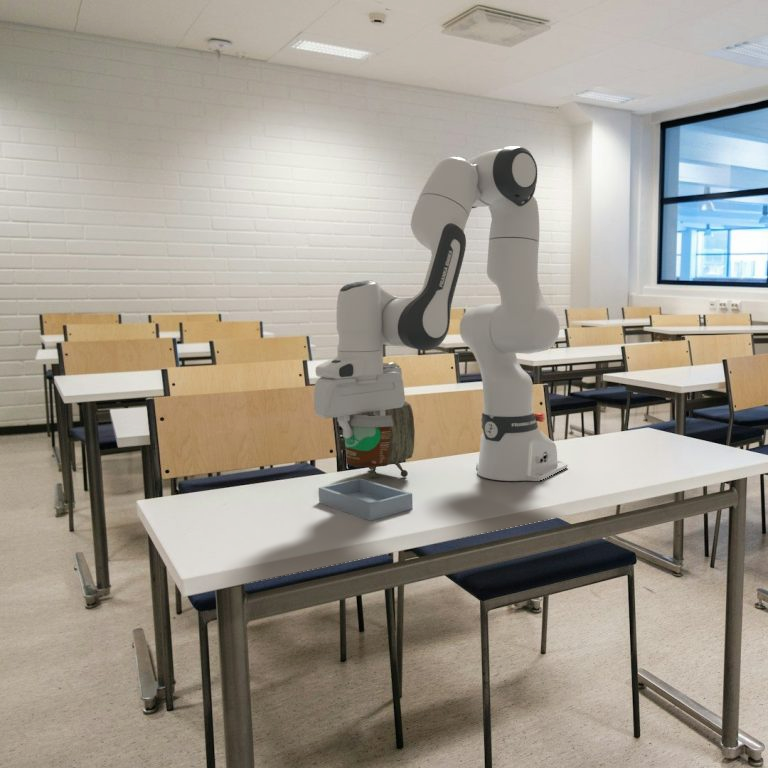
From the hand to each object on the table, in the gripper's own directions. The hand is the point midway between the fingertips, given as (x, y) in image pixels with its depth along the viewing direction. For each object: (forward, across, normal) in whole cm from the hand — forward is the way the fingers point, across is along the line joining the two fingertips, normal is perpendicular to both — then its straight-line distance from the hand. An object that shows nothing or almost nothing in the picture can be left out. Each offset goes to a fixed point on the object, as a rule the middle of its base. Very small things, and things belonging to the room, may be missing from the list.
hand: (362, 435), depth 137 cm
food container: (+6, +1, 0) cm, 6 cm away
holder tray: (+14, 0, 0) cm, 14 cm away
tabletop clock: (+14, -17, -16) cm, 28 cm away
